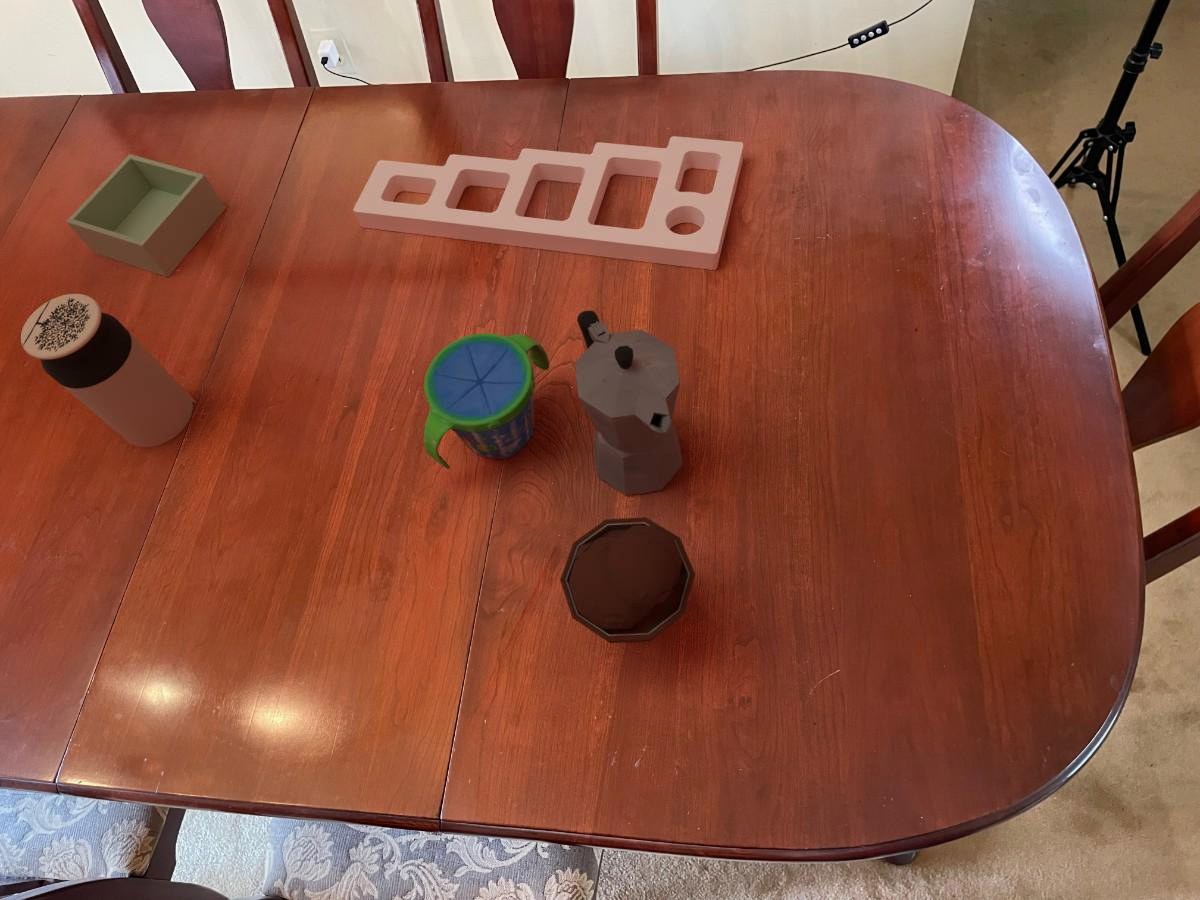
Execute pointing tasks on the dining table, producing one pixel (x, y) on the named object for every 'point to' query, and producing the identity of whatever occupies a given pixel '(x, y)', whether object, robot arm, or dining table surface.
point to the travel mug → (107, 370)
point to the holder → (579, 228)
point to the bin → (147, 214)
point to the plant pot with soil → (627, 580)
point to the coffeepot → (629, 405)
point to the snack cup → (483, 394)
